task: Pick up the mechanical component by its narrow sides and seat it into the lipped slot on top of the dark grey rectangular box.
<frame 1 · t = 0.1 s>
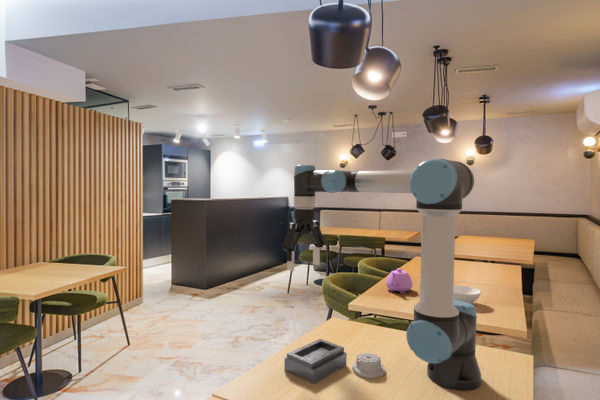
hand: (303, 267, 139), 28 cm above the table, fingers open, 13 cm apart
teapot: (398, 291, 212), on the table
mechanical component: (368, 371, 120), on the table
bowl: (462, 304, 189), on the table
dark grey rectangular box: (315, 367, 122), on the table
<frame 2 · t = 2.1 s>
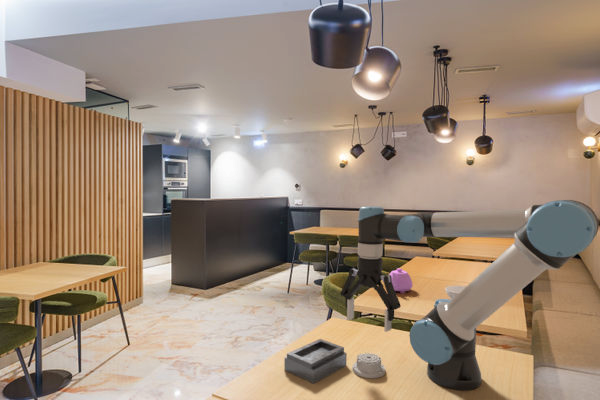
hand: (368, 324, 120), 14 cm above the table, fingers open, 13 cm apart
nothing on the table moved.
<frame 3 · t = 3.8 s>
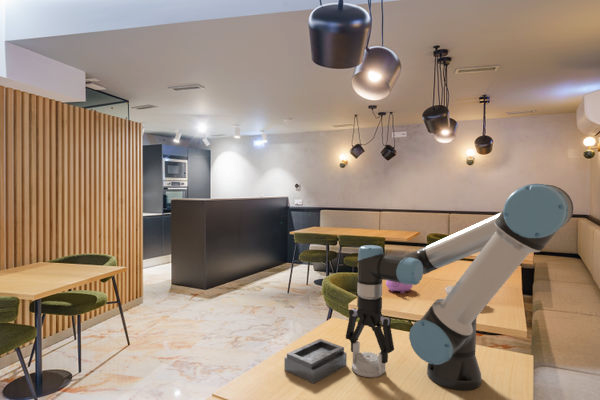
hand: (368, 367, 120), 1 cm above the table, fingers closed on mechanical component, 9 cm apart
mechanical component: (367, 370, 121), on the table, touching gripper
everything else where it was.
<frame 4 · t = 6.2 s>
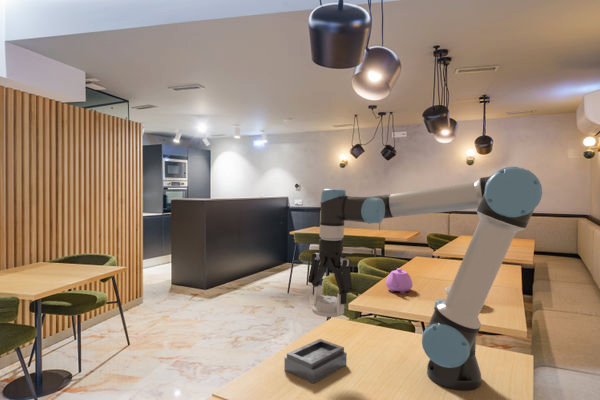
hand: (328, 309, 121), 18 cm above the table, fingers closed on mechanical component, 9 cm apart
mechanical component: (327, 313, 122), point 17 cm above the table, touching gripper
everything else where it was.
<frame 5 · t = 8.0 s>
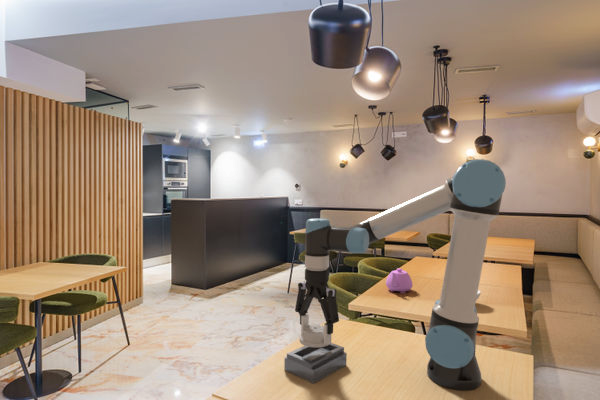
hand: (315, 339, 122), 9 cm above the table, fingers closed on mechanical component, 9 cm apart
mechanical component: (315, 342, 122), point 8 cm above the table, touching gripper
everything else where it was.
when the fingers open (6 cm above the table, at t = 9.0 s): mechanical component stays where it is, resting on dark grey rectangular box.
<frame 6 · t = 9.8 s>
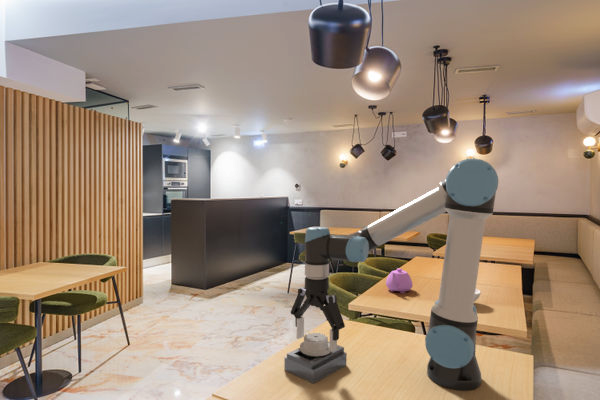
hand: (316, 343, 122), 8 cm above the table, fingers open, 13 cm apart
mechanical component: (315, 350, 122), point 5 cm above the table, touching dark grey rectangular box
everything else where it was.
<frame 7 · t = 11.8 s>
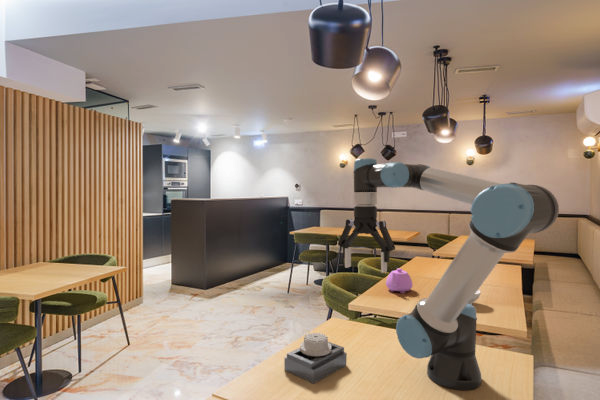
hand: (365, 269, 129), 30 cm above the table, fingers open, 13 cm apart
nothing on the table moved.
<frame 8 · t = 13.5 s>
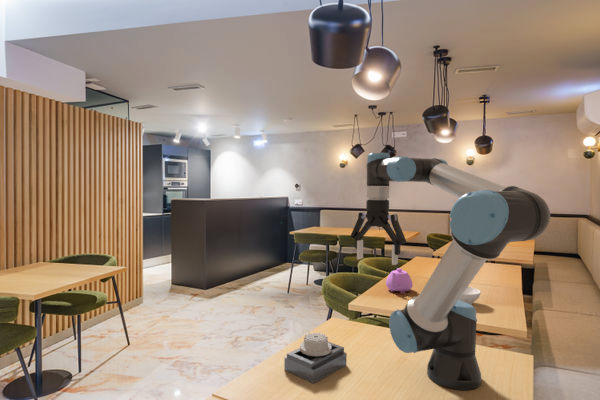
hand: (376, 261, 131), 32 cm above the table, fingers open, 13 cm apart
nothing on the table moved.
at the end: mechanical component inside the target area on the dark grey rectangular box (0.2 cm from its centre), point 5.3 cm above the dark grey rectangular box's base; the gripper is holding nothing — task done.
